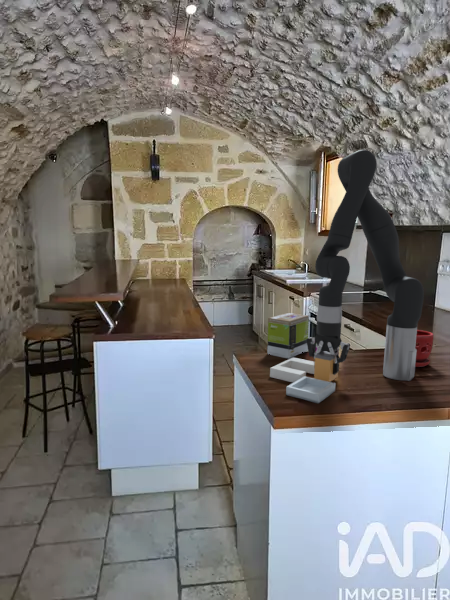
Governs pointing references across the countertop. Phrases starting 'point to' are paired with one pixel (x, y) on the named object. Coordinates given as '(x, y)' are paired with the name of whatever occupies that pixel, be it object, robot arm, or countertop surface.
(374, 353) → the countertop surface
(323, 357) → the orange grey block
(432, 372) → the countertop surface
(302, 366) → the bay
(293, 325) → the tea box
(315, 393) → the tray
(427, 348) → the plant pot
